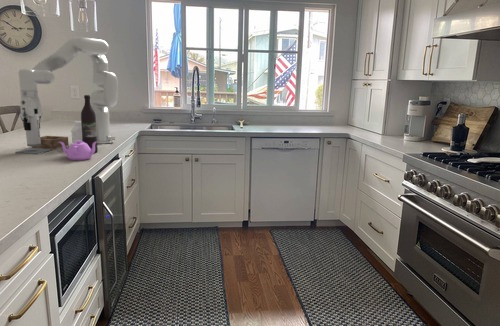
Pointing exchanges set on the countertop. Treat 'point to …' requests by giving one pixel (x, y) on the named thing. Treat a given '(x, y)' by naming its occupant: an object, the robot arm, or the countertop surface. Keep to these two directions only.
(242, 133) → the countertop surface
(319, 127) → the countertop surface
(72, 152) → the teapot
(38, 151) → the mat
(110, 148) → the countertop surface
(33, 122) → the travel mug
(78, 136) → the jar
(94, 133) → the wine bottle
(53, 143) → the collar
